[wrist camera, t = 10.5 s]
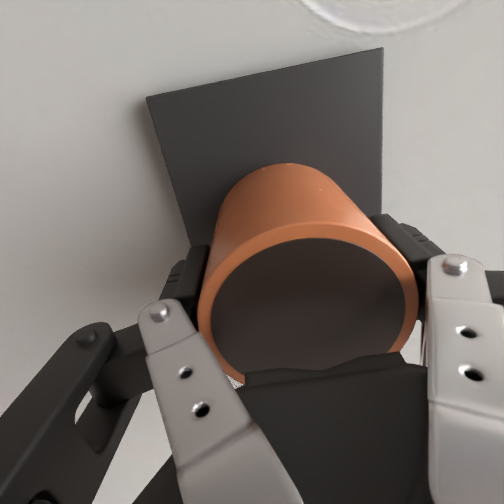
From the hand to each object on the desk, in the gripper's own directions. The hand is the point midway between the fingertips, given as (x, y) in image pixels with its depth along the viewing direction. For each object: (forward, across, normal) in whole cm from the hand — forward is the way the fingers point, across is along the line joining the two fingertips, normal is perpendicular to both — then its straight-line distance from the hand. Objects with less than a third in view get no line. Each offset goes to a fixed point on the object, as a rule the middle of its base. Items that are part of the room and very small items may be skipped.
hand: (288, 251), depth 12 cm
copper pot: (+2, 0, 0) cm, 2 cm away
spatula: (+3, 0, +9) cm, 9 cm away
